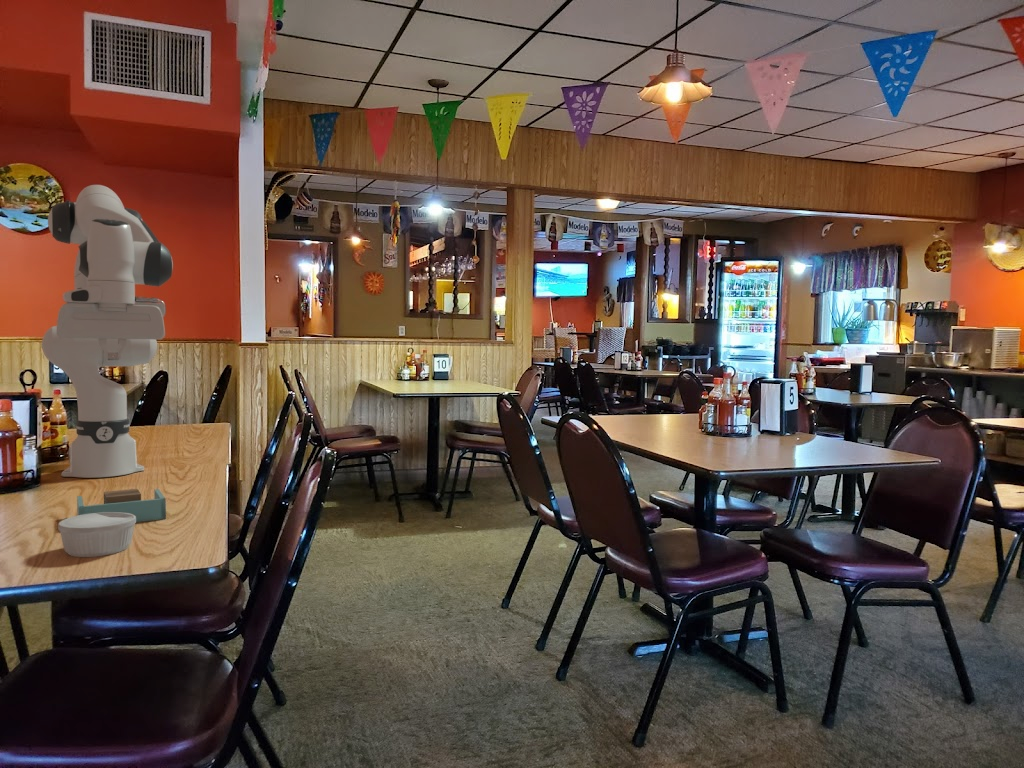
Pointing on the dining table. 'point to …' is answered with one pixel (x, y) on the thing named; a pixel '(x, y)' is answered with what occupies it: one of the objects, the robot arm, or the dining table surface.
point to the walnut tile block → (122, 496)
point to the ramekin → (97, 533)
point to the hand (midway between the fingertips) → (112, 360)
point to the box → (130, 508)
